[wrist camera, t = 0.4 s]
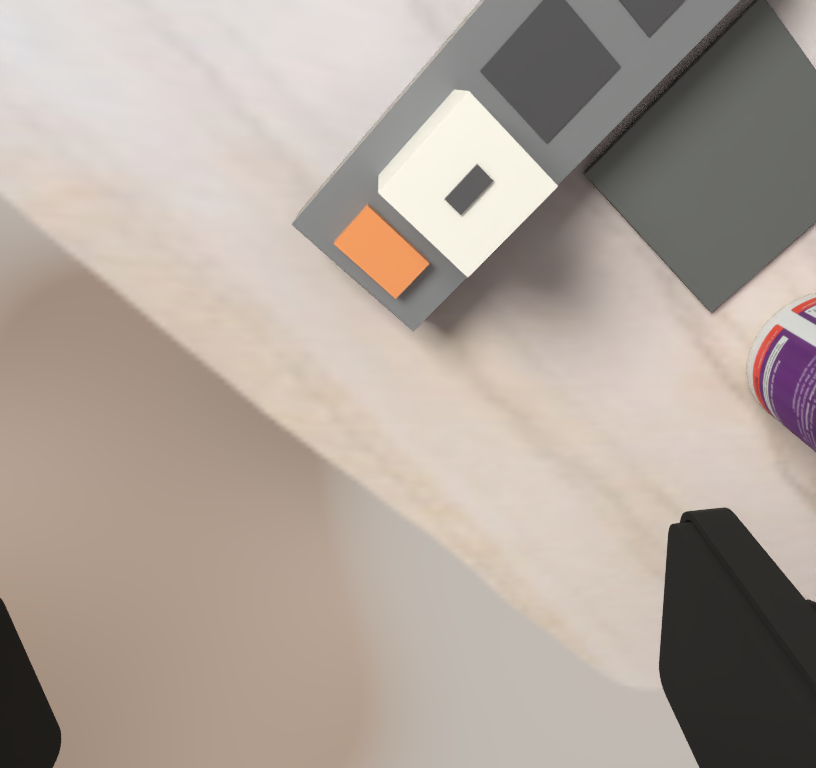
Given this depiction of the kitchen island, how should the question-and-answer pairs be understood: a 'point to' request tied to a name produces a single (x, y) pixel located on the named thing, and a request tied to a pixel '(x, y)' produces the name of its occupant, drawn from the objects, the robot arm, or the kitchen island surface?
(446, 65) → the power strip
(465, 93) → the block
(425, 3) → the kitchen island surface
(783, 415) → the pill bottle
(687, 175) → the mat
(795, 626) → the robot arm
